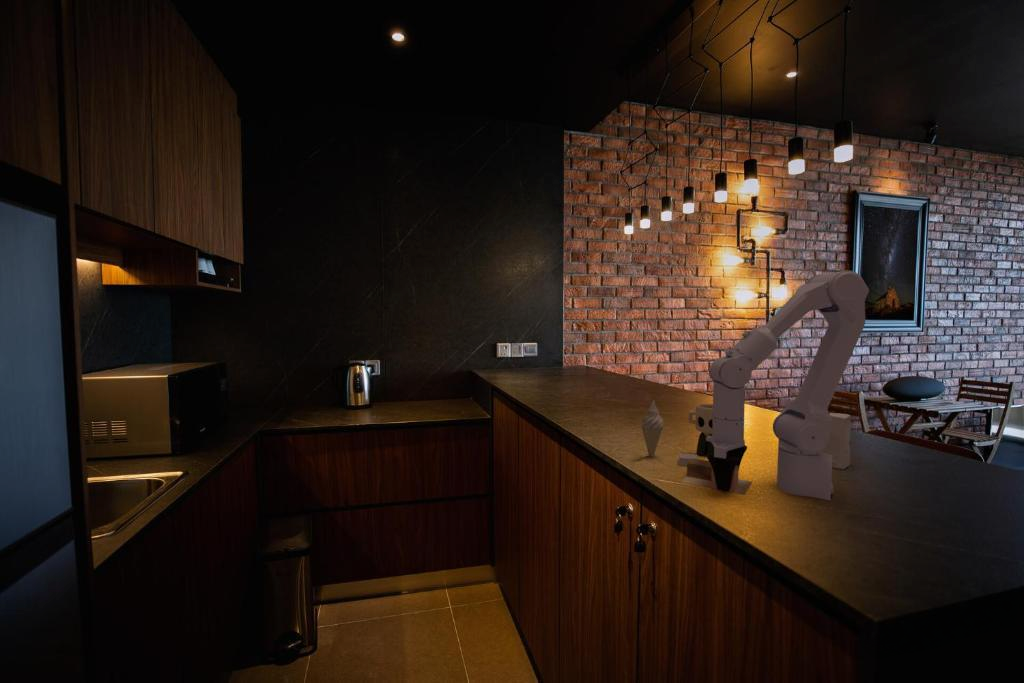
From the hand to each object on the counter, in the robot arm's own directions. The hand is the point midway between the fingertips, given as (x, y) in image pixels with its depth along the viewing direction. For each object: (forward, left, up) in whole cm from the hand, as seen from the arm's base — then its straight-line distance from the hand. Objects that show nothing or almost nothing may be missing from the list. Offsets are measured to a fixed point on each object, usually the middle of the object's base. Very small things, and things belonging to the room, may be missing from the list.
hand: (726, 485), depth 96 cm
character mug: (+8, -23, -2) cm, 25 cm away
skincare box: (-18, -35, -2) cm, 39 cm away
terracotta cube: (0, 0, 0) cm, 1 cm away
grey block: (+10, -11, -2) cm, 15 cm away
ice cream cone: (+19, -12, -2) cm, 23 cm away
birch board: (+2, -2, -2) cm, 4 cm away
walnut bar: (+5, -4, -2) cm, 7 cm away
